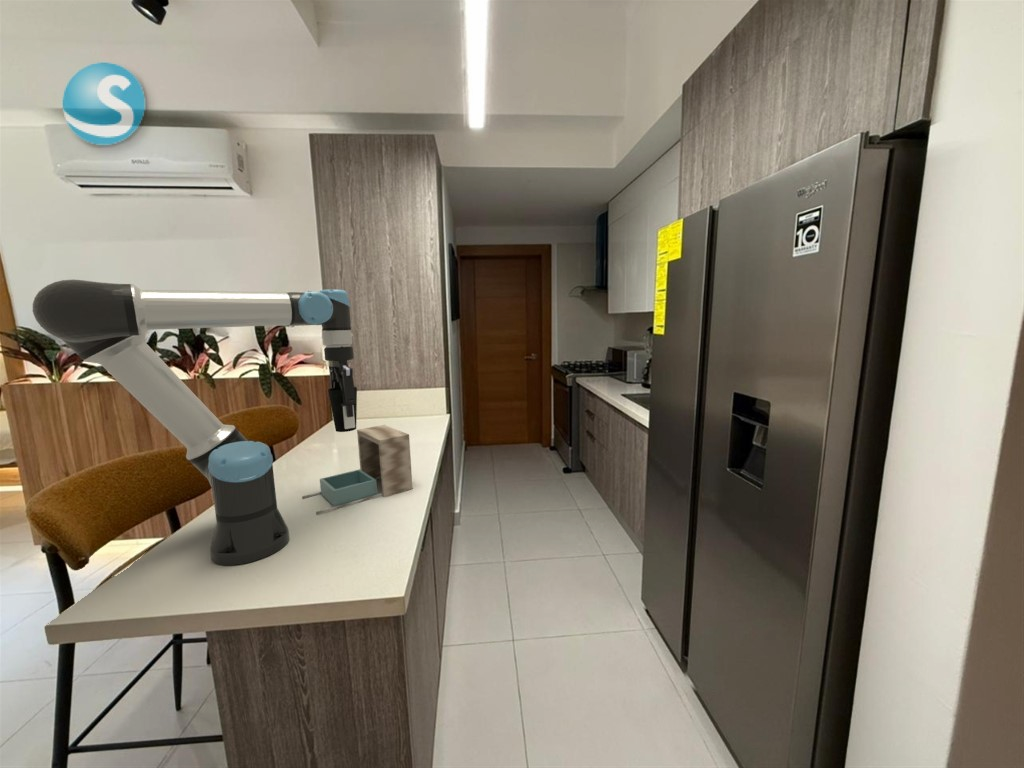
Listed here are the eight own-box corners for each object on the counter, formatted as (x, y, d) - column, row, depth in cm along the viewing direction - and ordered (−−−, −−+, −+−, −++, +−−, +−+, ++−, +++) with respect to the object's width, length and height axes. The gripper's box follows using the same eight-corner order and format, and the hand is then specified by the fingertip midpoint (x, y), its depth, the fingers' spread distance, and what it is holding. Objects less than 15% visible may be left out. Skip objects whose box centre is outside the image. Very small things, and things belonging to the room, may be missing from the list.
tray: (335, 507, 115) (333, 491, 114) (321, 494, 125) (319, 478, 124) (377, 495, 123) (376, 479, 122) (361, 483, 132) (359, 469, 132)
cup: (349, 433, 116) (346, 390, 114) (325, 432, 118) (321, 390, 116) (365, 426, 123) (362, 386, 122) (342, 426, 125) (339, 386, 123)
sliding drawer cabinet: (318, 516, 110) (312, 454, 108) (300, 496, 124) (295, 440, 121) (412, 488, 127) (409, 434, 125) (387, 474, 141) (384, 424, 138)
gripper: (364, 346, 111) (371, 429, 115) (341, 344, 127) (347, 418, 131) (335, 347, 107) (342, 434, 110) (314, 346, 123) (322, 422, 126)
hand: (345, 425), depth 120 cm, fingers closed on cup, 8 cm apart
